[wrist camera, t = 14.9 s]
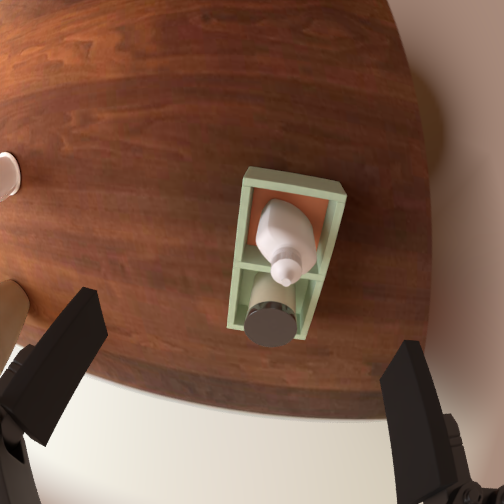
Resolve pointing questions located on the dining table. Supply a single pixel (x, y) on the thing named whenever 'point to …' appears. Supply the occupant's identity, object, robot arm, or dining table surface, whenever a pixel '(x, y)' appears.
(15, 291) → the plant pot
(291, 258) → the eye dropper bottle
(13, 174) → the downlight
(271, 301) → the spice jar
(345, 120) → the dining table surface
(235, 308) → the green divided tray
